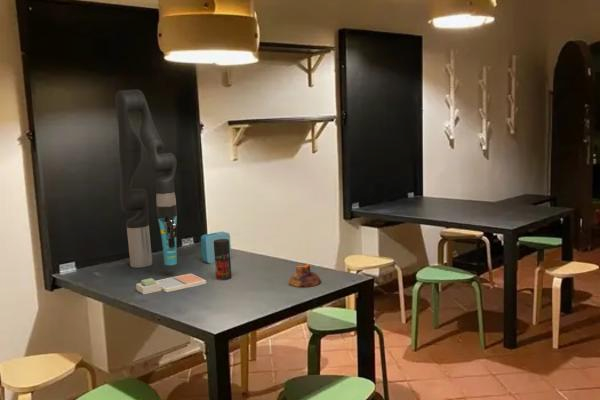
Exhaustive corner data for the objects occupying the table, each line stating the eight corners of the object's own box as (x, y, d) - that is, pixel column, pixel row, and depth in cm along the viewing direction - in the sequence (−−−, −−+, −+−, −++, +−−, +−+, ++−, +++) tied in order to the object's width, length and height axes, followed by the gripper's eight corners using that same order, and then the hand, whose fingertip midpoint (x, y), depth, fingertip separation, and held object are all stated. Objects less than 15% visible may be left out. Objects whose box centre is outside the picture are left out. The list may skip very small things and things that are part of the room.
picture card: (152, 284, 243) (152, 281, 243) (191, 276, 252) (190, 273, 252) (166, 292, 232) (166, 288, 231) (206, 283, 240) (206, 280, 240)
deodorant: (213, 278, 246) (210, 241, 244) (224, 275, 251) (222, 238, 248) (223, 281, 242) (220, 242, 240) (234, 277, 247) (232, 239, 244)
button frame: (136, 290, 236) (136, 283, 236) (154, 286, 240) (154, 280, 240) (143, 294, 230) (142, 287, 230) (161, 290, 234) (161, 283, 234)
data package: (226, 257, 281) (224, 230, 279) (231, 259, 277) (229, 232, 276) (202, 262, 274) (200, 235, 272) (207, 264, 270) (205, 236, 268)
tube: (164, 266, 249) (160, 219, 246) (159, 264, 253) (156, 217, 250) (182, 263, 254) (178, 216, 250) (177, 261, 258) (173, 214, 254)
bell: (297, 290, 226) (296, 270, 225) (284, 282, 237) (282, 263, 236) (326, 284, 231) (325, 265, 230) (311, 277, 242) (311, 258, 241)
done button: (141, 286, 235) (141, 280, 235) (151, 284, 238) (151, 278, 237) (145, 288, 232) (144, 282, 232) (155, 286, 234) (155, 280, 234)
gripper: (150, 203, 253) (154, 244, 256) (164, 207, 242) (167, 251, 244) (168, 200, 257) (171, 241, 260) (182, 204, 246) (185, 248, 248)
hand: (169, 246), depth 252 cm, fingers closed on tube, 4 cm apart
